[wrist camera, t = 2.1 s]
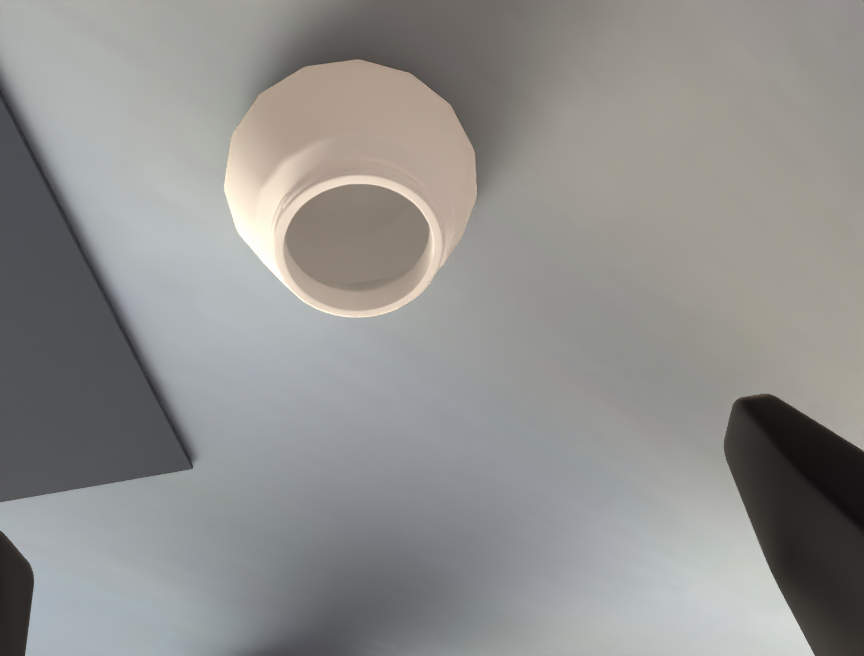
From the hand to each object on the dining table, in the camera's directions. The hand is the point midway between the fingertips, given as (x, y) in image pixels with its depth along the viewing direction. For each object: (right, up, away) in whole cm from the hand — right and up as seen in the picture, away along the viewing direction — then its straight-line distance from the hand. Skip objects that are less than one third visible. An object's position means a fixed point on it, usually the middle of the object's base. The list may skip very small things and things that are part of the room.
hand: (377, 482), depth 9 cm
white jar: (-1, +5, +6) cm, 8 cm away
